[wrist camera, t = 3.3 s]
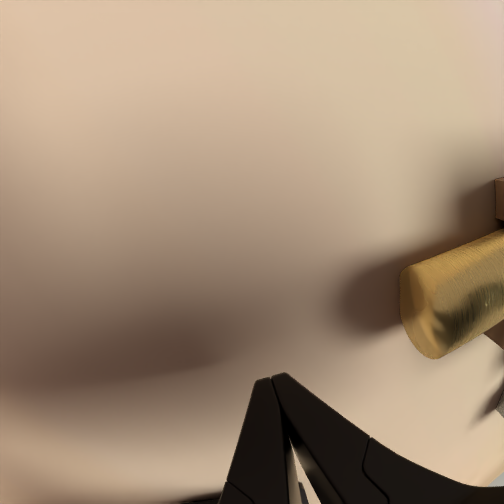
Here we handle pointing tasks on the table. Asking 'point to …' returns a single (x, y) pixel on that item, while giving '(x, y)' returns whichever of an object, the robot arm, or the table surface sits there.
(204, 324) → the table surface
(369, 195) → the table surface
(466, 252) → the brass rod
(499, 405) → the block
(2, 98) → the table surface
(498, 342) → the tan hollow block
